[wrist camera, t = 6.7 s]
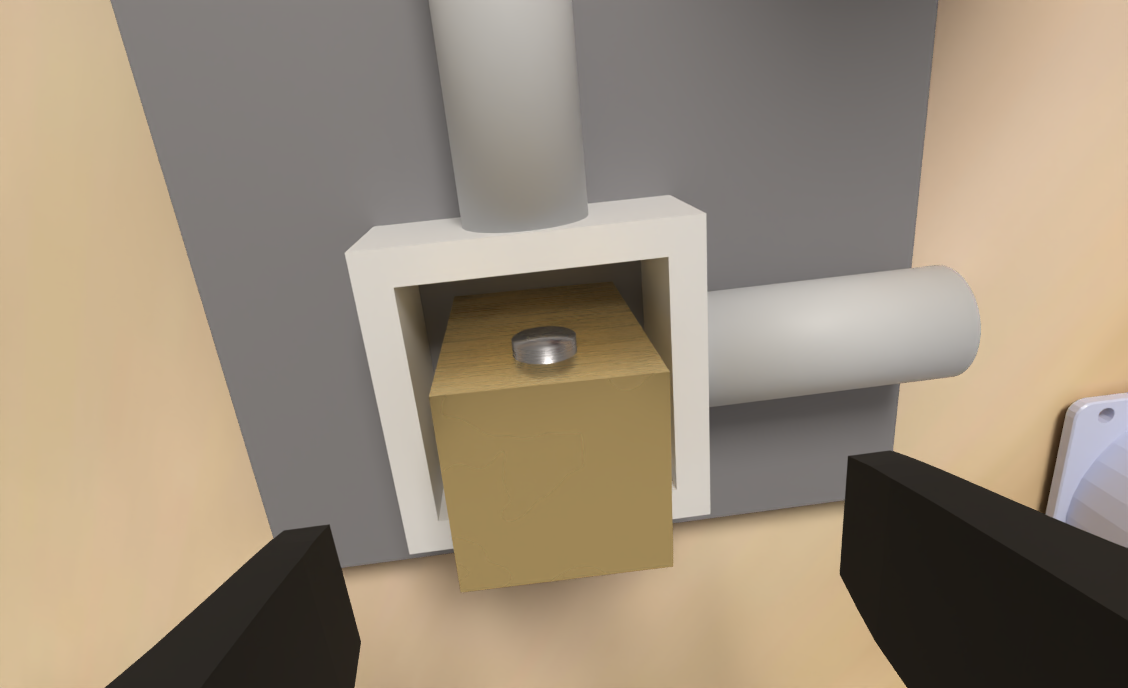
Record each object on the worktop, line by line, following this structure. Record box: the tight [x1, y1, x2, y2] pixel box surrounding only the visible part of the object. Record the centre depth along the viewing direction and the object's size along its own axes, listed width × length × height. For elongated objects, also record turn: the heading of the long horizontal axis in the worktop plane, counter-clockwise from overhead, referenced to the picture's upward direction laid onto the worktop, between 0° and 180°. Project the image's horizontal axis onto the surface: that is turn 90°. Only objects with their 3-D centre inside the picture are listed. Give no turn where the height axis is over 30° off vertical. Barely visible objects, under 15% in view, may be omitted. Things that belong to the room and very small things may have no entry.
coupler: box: [429, 281, 673, 592], centre depth 14 cm, size 4×5×6 cm
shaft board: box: [110, 0, 981, 568], centre depth 15 cm, size 18×18×4 cm
